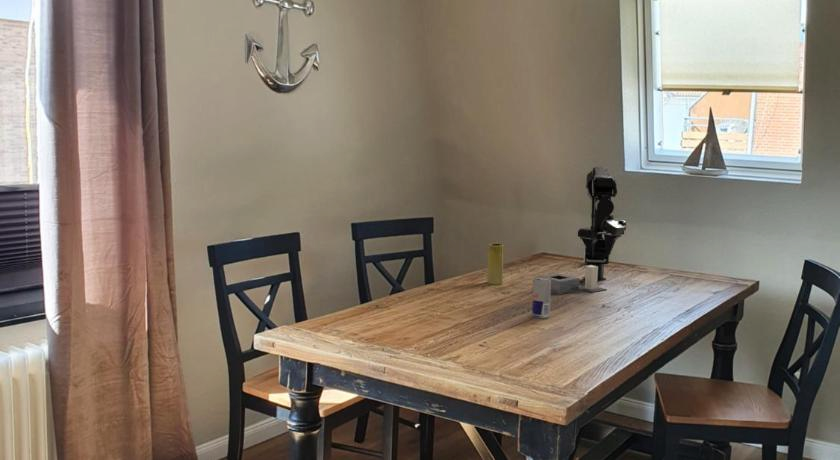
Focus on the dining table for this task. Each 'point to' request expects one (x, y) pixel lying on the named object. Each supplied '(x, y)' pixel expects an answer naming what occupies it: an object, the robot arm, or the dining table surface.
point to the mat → (592, 290)
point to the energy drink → (541, 297)
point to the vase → (495, 264)
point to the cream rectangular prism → (591, 277)
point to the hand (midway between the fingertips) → (600, 255)
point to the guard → (563, 283)
